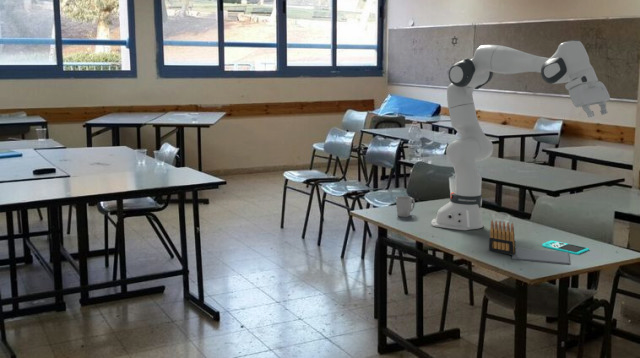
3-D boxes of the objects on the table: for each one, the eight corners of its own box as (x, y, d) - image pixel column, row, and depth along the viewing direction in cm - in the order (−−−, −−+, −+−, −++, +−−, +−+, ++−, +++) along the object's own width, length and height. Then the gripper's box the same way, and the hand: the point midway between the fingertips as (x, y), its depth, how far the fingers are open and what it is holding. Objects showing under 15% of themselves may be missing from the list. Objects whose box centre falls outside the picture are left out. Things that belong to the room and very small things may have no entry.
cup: (392, 215, 316) (392, 197, 315) (408, 212, 321) (409, 195, 320) (402, 218, 310) (402, 200, 308) (419, 215, 315) (419, 197, 313)
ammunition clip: (488, 250, 260) (488, 219, 259) (491, 249, 261) (491, 219, 260) (513, 255, 252) (513, 223, 251) (515, 254, 253) (515, 222, 252)
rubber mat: (512, 259, 249) (512, 257, 249) (513, 249, 262) (513, 247, 262) (569, 264, 243) (569, 263, 243) (568, 253, 256) (568, 252, 256)
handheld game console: (551, 242, 273) (551, 239, 273) (590, 251, 262) (590, 247, 262) (539, 247, 267) (539, 244, 266) (577, 256, 255) (578, 252, 255)
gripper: (591, 82, 258) (605, 115, 256) (562, 86, 245) (576, 121, 243) (606, 75, 253) (620, 109, 251) (577, 79, 240) (591, 114, 238)
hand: (598, 115), depth 247 cm, fingers open, 8 cm apart
